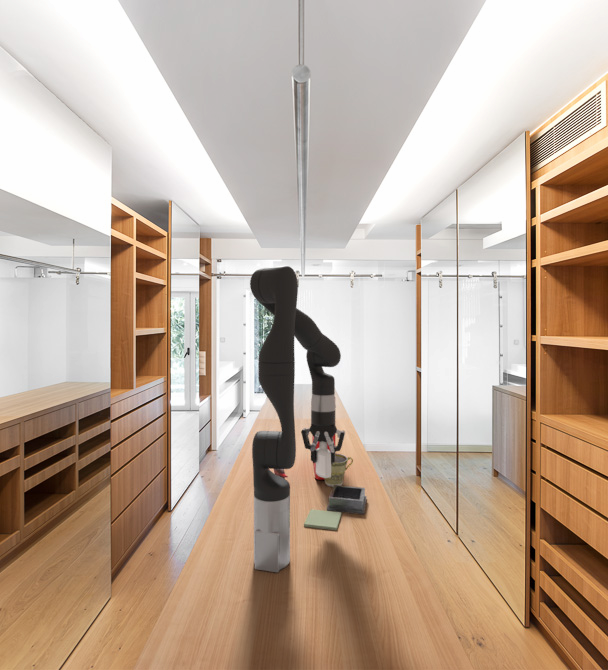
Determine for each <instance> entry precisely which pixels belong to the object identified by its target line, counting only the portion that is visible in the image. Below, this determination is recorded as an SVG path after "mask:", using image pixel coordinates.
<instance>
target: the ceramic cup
mask: <svg viewBox="0 0 608 670" xmlns="http://www.w3.org/2000/svg"><path fill="white" fill-rule="evenodd" d="M349 460H351V462H350V463H349V464H348V461H349ZM353 462H354V459H353V458H352V457H350V456H346V455H345V454H342V453H337V452H335V463H333V464H332V465H331V477H329V478H324V479H325V480H324V483H325V484H326V486H328V487H332V488H333V486H334V485H339V486H343V483H344V479H345V478H344V477H345V474H346V471H347V470H348V468H349V467H350V466H351V465H352V464H353ZM347 464H348V465H347Z"/></svg>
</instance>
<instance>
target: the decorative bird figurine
mask: <svg viewBox="0 0 608 670" xmlns="http://www.w3.org/2000/svg"><path fill="white" fill-rule="evenodd" d="M273 471H274V472H273V473H274V474H276V475H278V476H280V477H282V478H284V479H286V478H288V477H289V476H288V475H287V474H286V473H285V469H273Z"/></svg>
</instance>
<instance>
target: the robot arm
mask: <svg viewBox="0 0 608 670" xmlns="http://www.w3.org/2000/svg"><path fill="white" fill-rule="evenodd" d="M298 285H299V283H298V277H297V273H296V271H294V269H293V268H292V267H291V266H290V265H279V266H270V267H263V268H259V269H257V270H255V271H254V272H253V273H252V274H251V278H250V281H249V286H250V287H249V288H250V292H251V293H252V295H253V297H254V298H255V299H256V301H257V302H258V303H259V304H261V305H262V306H263V307H264V308H265V309H266V310H268V312H270V313H271V314H272V315H273V317H274V318H273V323H272V325H271V327H270V330H269V332H268V334H267V336H266V337H265V340H264V341H263V343H262V346H261V348H260V350H259V353H258V369H257V370H258V382H259V384H260V385H259V386H260V387H261V388H262V390H263V392H264V394H265V396H266V397H267V399H268V400H269V401H270V403H271V405H272V406H273V408H274V410H275V412H276V414H277V417H278V419H279V423H280V427H281V431H278V430H259V431H256V433H255V434H254V436H253V438H252V439H253V440H252V447H251V453H252V455H251V458H252V471H253V473H252V474H253V480H252V481H253V562H254V569H255V570H259V571H264V572H270V573H279V572H280V570H283V569H284V568H286V567H288V565H289V564H290V561H291V484H290V482H289V481H288V480H287V479H286V478H285V479H284V478H282V477H280V476H278V475H276V474H275V473H274V472H273V471H271V470H272V469H273V470H274V469H284V470H289V469H292V468H293V467H294V465H295V463H296V457H297V456H296V453H297V451H296V450H297V447H296V446H297V444H296V443H297V442H296V441H297V440H296V426H295V405H294V403H295V401H294V400H295V376H296V373H295V371H296V369H295V368H296V367H295V364H296V362H295V339H296V340H297V341H298V343H299V344H300V345H301V347H302V348H303V349H304V350H305V351H306V363H307V367H308V371H309V375H310V378H311V399H310V405H311V406H310V427H308V428H306V427H303V428H302V429H301V431H300V433H301V438H302V441H303V445H304V448H305V449H308V450H310V461H311V462H312V464H313V463H316V446H317V443H318V441H319V442H320V441H324V442H327V443H328V446H329V448H330V451H331V465H332V464H333V463H334V462H335V453H337V452H340V451H341V449H342V447H343V443H344V439H345V435H346V431H345V430H340V429H337V426H336V408H337V405H336V396H335V395H336V394H335V389H336V388H335V387H336V386H335V385H336V384H335V377H334V376H333V375H331V374H329V373H326V371H324V368H334V367H337V366H338V365H339V363H340V361H341V357H342V356H341V355H342V354H341V350H340V348H339V346H338V345H337V344H336V343H335V342H334V341H333V340H331V338H329V337H328V336H326V335H325V334H323V332H322V331H321V329H320V328H319V327H318V326H317V323H316V322H315V321H314V320H313V319H312V317H311V316H309V315H308V314H306V313H305V312H303V311H302V310H300V309H299V308H297V305H298V295H299V293H298V292H299V291H298V290H299V286H298ZM323 367H324V368H323ZM310 434H311V435H313V437H314V440H313V443H311V442H310V438H309V435H310ZM334 435H335V436H337V438H338V441H337V445H336V444H335V445H334V441H333V438H332V437H333V436H334ZM270 469H271V470H270Z"/></svg>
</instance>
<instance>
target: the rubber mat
mask: <svg viewBox="0 0 608 670" xmlns="http://www.w3.org/2000/svg"><path fill="white" fill-rule="evenodd" d="M341 518H342V512H337V511H327V510H322V509H312V508H311V509H310V510H309V512H308V514H307V517H306V519H305V521H304V523H303V527H304V528H305V527H306V528H312V529H322V530H329V531H337V530H338V527H339V525H340V521H341Z"/></svg>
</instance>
